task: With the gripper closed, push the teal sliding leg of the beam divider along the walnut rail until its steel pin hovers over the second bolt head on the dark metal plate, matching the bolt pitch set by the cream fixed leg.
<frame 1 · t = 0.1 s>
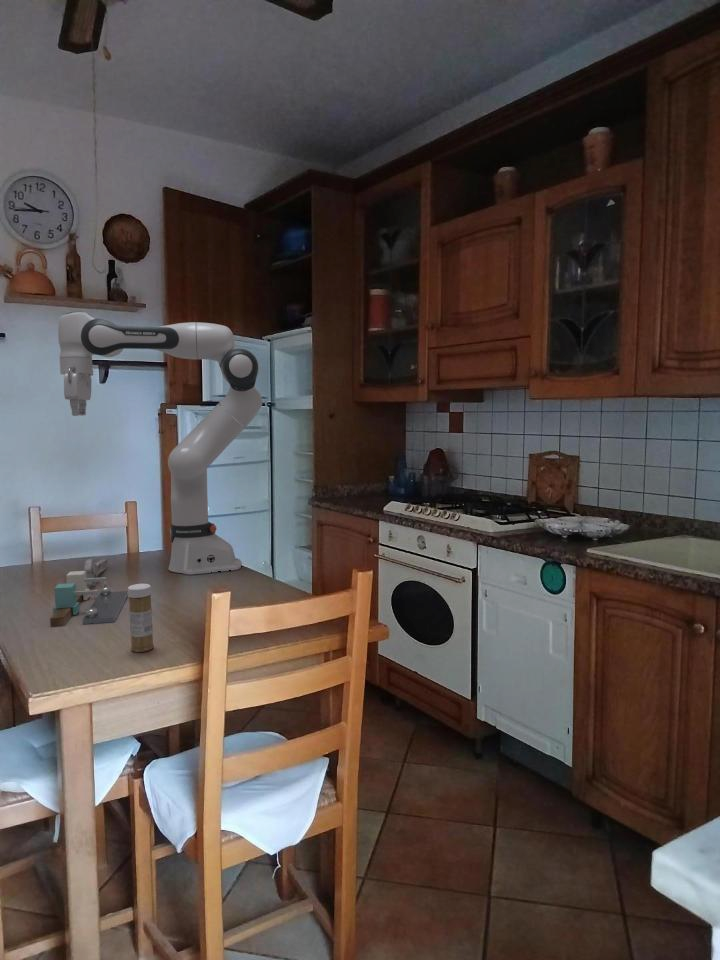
hand: (79, 415, 202), 48 cm above the table, tool pointing down, fingers open, 8 cm apart
fixed leg: (77, 599, 179), on the table
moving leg: (76, 598, 166), point 4 cm above the table, slide at 0.0 cm
bolt plate: (107, 608, 170), on the table
sprinkles bottle: (142, 650, 141), on the table
wrench: (97, 579, 202), on the table
rail: (68, 611, 168), on the table
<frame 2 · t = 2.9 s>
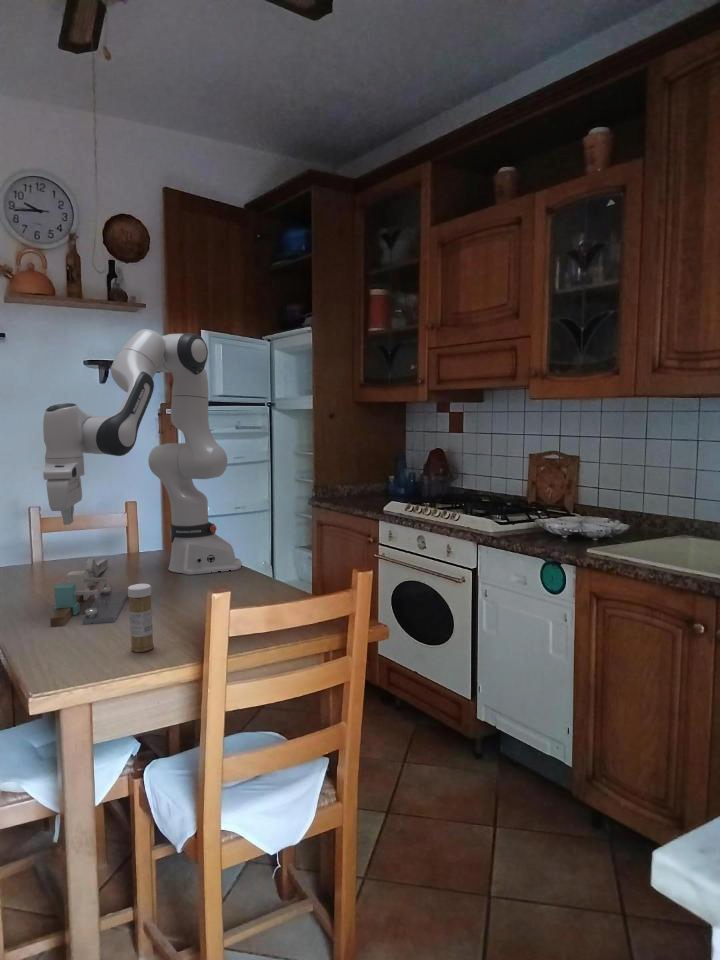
hand: (68, 523, 171), 21 cm above the table, tool pointing down, fingers closed
nothing on the table moved.
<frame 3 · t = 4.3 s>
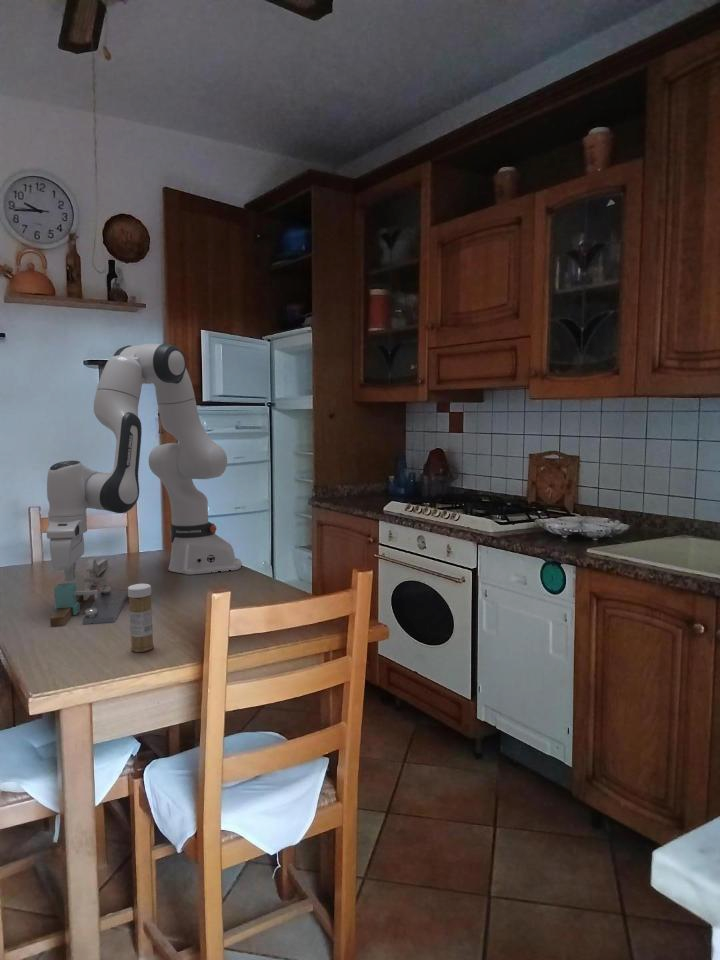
hand: (70, 579, 172), 7 cm above the table, tool pointing down, fingers closed
nothing on the table moved.
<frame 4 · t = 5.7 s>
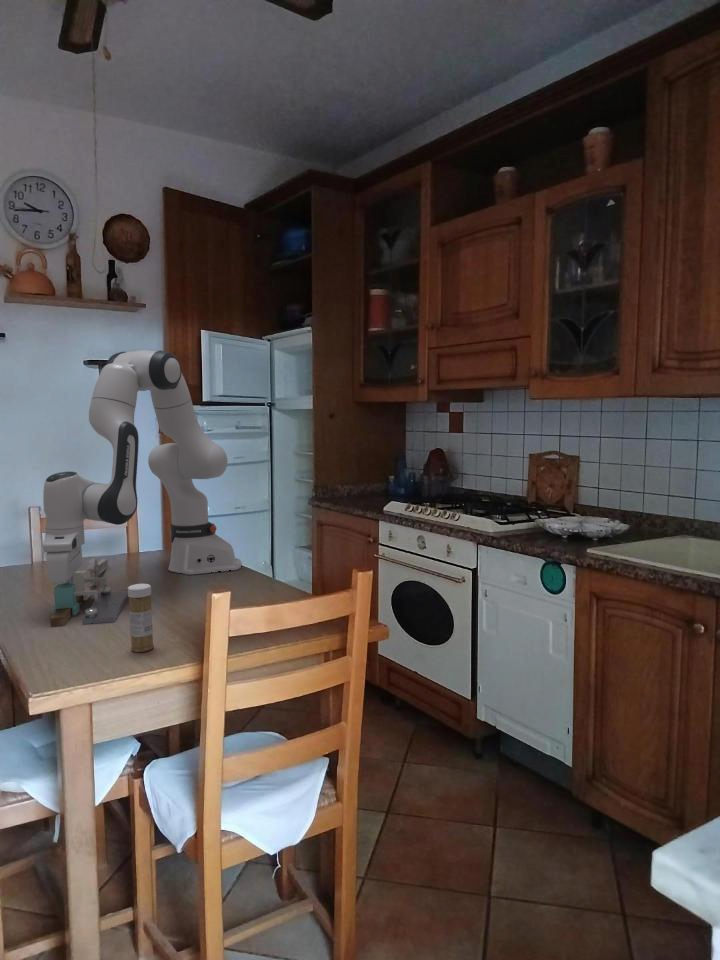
hand: (68, 592, 169), 4 cm above the table, tool pointing down, fingers closed
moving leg: (76, 599, 166), point 4 cm above the table, slide at 0.4 cm, touching gripper
everything else where it was.
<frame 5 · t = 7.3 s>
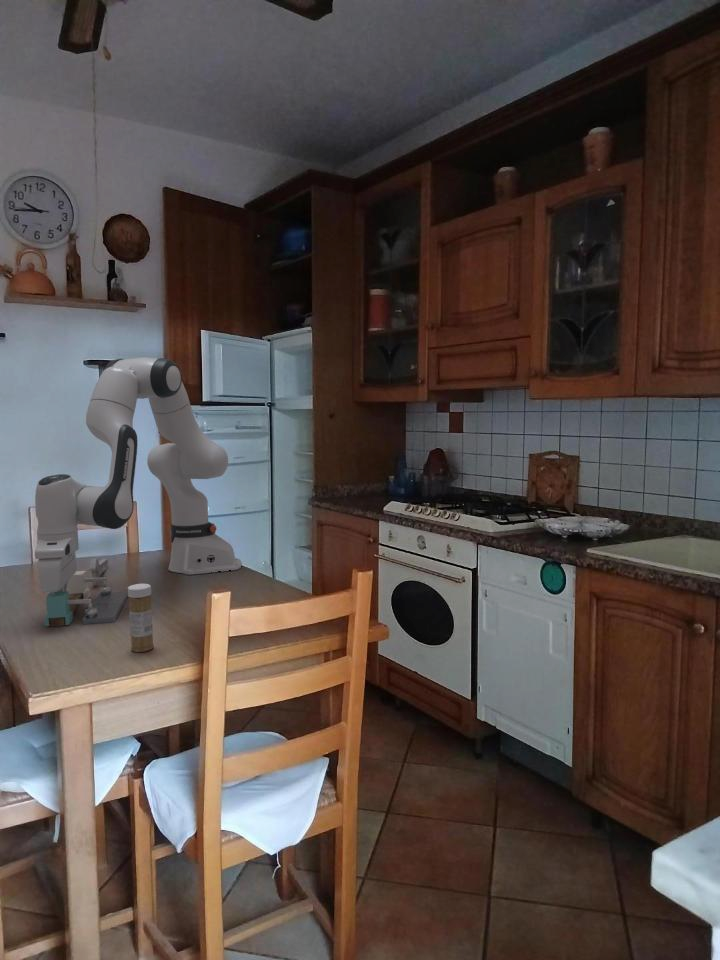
hand: (61, 601, 162), 4 cm above the table, tool pointing down, fingers closed
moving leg: (69, 607, 159), point 4 cm above the table, slide at 7.8 cm, touching gripper
everything else where it was.
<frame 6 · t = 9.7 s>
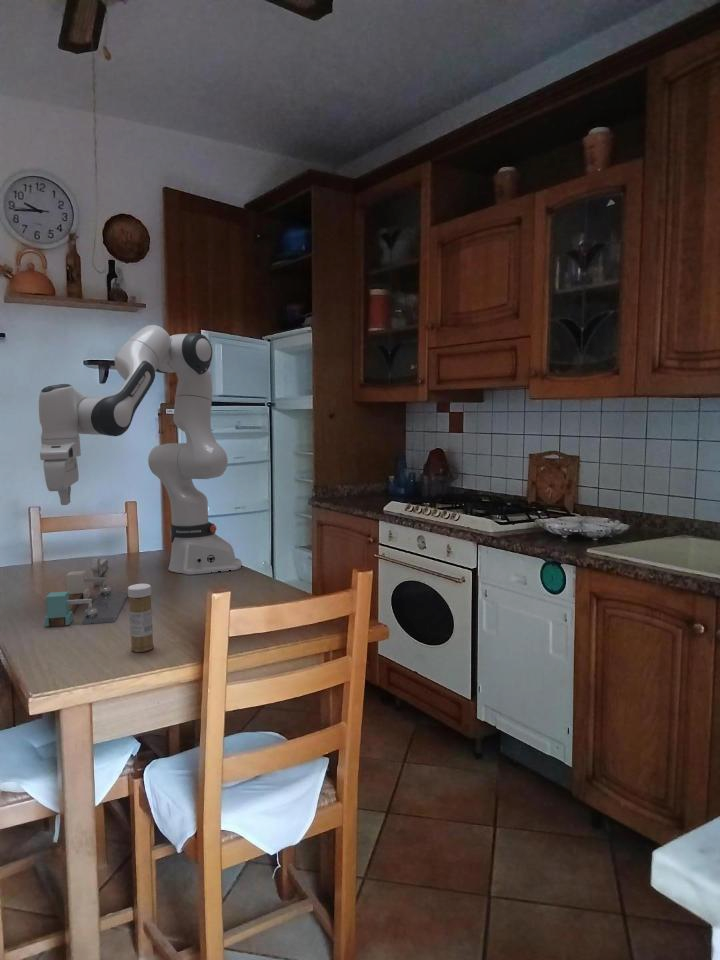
hand: (65, 504, 172), 26 cm above the table, tool pointing down, fingers closed
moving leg: (69, 607, 159), point 4 cm above the table, slide at 7.9 cm
everything else where it was.
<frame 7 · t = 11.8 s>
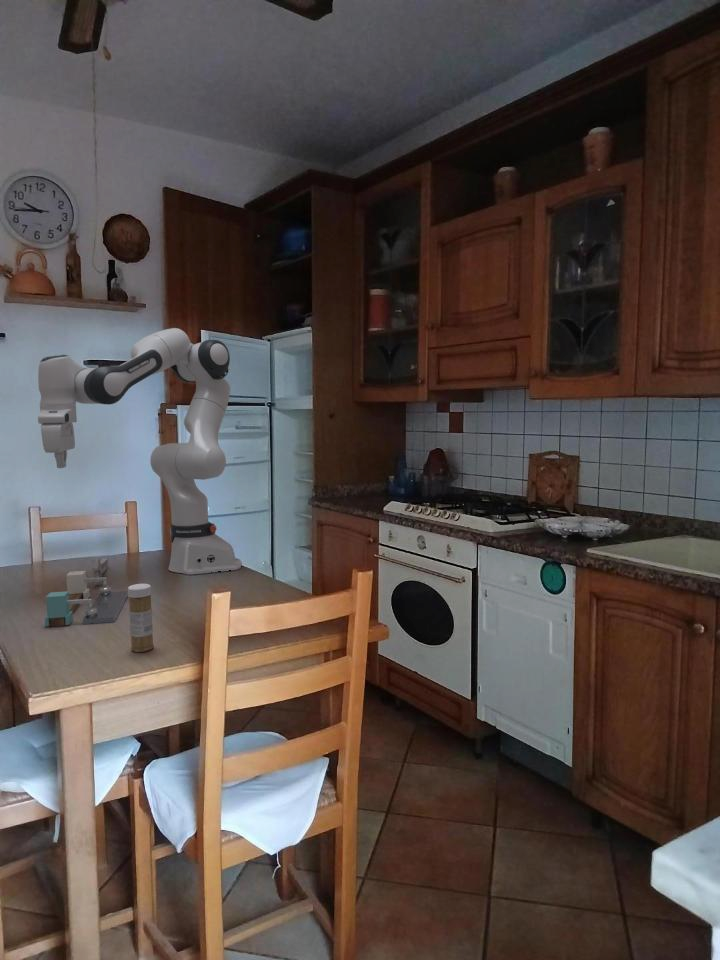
hand: (61, 467, 183), 34 cm above the table, tool pointing down, fingers closed
at the end: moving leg slide at 7.9 cm; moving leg touching nothing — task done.
